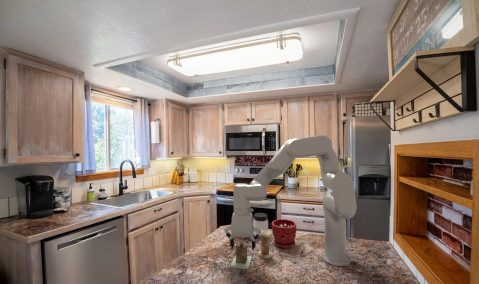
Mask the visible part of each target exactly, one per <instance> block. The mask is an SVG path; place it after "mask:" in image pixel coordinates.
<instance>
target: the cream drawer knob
mask: <svg viewBox="0 0 479 284" xmlns="http://www.w3.org/2000/svg"><path fill="white" fill-rule="evenodd" d="M259 236H260V237H259V238H260V250H259V251H258V252H257V255H258V256H257V257H258V258H260V259H262V260H269V259H272V257H273V252H272V251H270V238H271V237H273V233H272V230H271V231H270V230H269V229H268V230H261V233H260V235H259Z"/></svg>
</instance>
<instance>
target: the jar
mask: <svg viewBox="0 0 479 284" xmlns="http://www.w3.org/2000/svg"><path fill="white" fill-rule="evenodd" d="M253 225H254V227H256V228H258V229H259V230H268V231H269V220H268V215H267V213H264V212H257V213H254V214H253ZM253 234H254V235H255V236H256V235H257V232H256V231H254V233H253ZM258 238H261V237H260V236H259V237H258Z"/></svg>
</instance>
